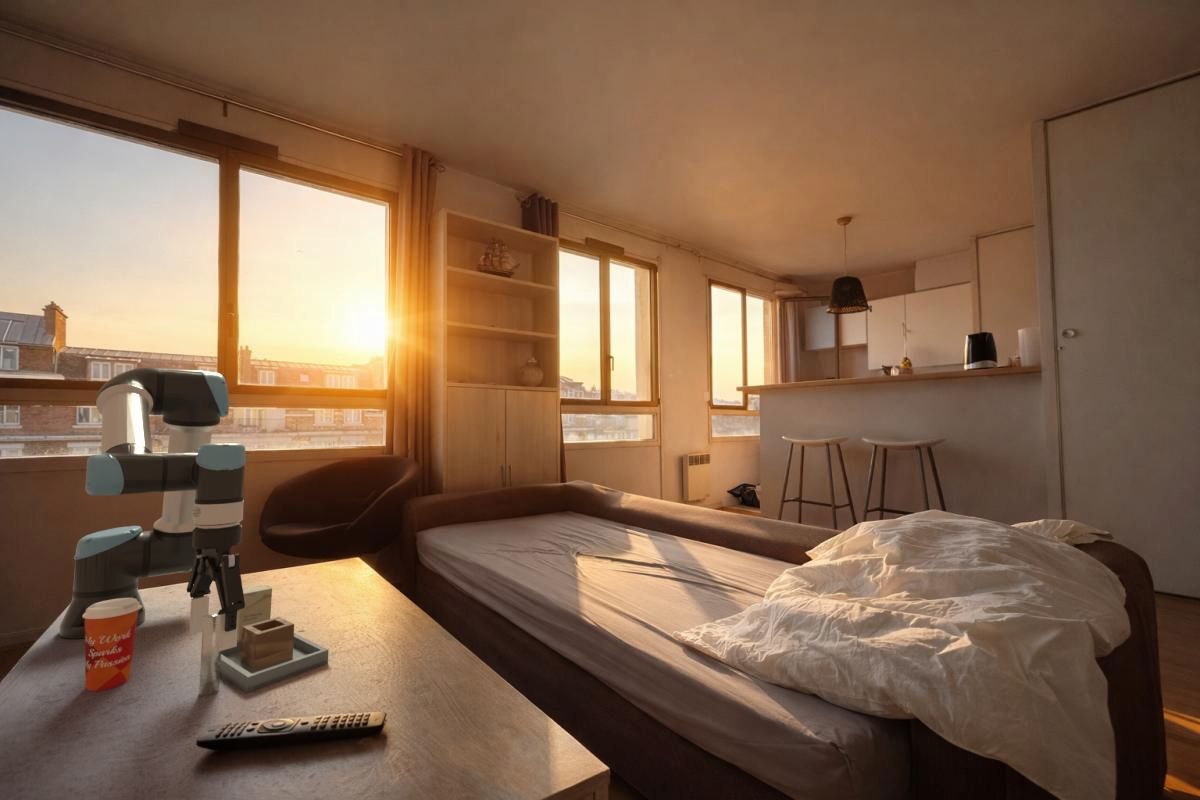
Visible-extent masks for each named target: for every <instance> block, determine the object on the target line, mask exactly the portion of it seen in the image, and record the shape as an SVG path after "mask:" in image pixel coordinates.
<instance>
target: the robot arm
mask: <svg viewBox="0 0 1200 800" xmlns="http://www.w3.org/2000/svg"><path fill="white" fill-rule="evenodd" d="M229 399H230V398H229V391H228V385H227V381H226V378H225V377H224V376H223V374H221V373H219V372H213V371H206V370H197V369H182V368H181V369H180V368H178V369H176V368H159V367H149V366H147V367H140V368H139V367H138V368H133V369H130V370H126V371H125V372H121V373H120V374H118V375H115V376H113V377H111V378H110V379H109V380H108V381H106V382H105V383H104V384H103V385H102V386H101V387H100V389H99V390H98V392H97V395H96V400H95V401H96V402H95V405H96V409H97V411H98V413H99V414H100V415H101V447H100V450H101V451H100V454H99V453H98V454H97V453H96V454H92V455H90V456H89V457H88V458H87V461H86V474H85V489H84V490H85V492H86V494H88V495H90V496H112V497H116V496H120V495H134V494H135V495H136V494H147V493H149V494H150V493H163V500H162V501H163V503H162V511H161V517H160V518H159V519H157V520H156V521H155V522H154V523H153V525H152V526H153V527H152V530H145V531H143V528H142V527H141V525H130V526H121V527H113V528H108V529H105V530H100V531H97V532H93V533H90V534H87V535H85V536H83V537H82V538H80V539H79V540H78V542H77V544H76V549H75V555H74V556H73V560H74V561H75V562H74V573H73V584H72V586H73V587H72V599H71V601H70V603H69V605H68V608H67V610H66V612H65V614H64V615H63V616H64V617H63V618H62V620H61V622H60V626H59V633H58V634H59V636H60V637H61V638H64V639H85V618H83V617H82V616H83V614H84V613H85V612H86V609H87V608H88V607H90V606H91V605H92V604H95V603H98V602H102V601H106V600H111V599H118V598H135V599H137V601H138V602H140V603H139V604H140V605H141V606H142V608H140V609H139V610H138V617H137V625H136V627H137V626H138V625H140V624H142V623H144V622H145V621H146V608H145V605H144V604H143V600H142V597H141V595H140V593H139V589H138V588H139V579H140V580H141V579H145V578H152V577H158V576H159V577H160V576H167V575H174V574H179V573H189V572H190V575H189V578H188V583H187V588H186V592H187V594H188V593H189V597H190V598H191V600H190V612H189V613H190V615H189V630H188V631H189V632H188V633H189V634H190V635H194V634H197V633H200V632H203V616H205V615H207V614H209V611H210V610H209V608H210V607H209V605H210V594H212V591H211V585H212V583H213V582H215V588H216V591H217V595H218V599H219V600H218V601H219V603H220V608H221V609H219V611H217V612H218V615H219V631H218V651H222V650H226V649H229V648H233V647H236V646H237V629H238V610H240V609H243V608H245V601H244V595H243V589H244V588H243V581H242V575H241V569H240V554H239V553H236V554H235V553H234V554H232V551H231V550H232V549H231V548H232V547H234V546H237V545H239V544H240V543H242V536H243V525H242V524H241V522H242V521H243V520H244V502H245V501H244V491H245V490H244V489H245V471H246V464H247V458H246V446H245V445H244V444H242V443H233V442H232V443H231V442H230V443H229V442H227V443H218V442H217V443H214V442H213V443H212V432H213V429H215V428H217V427H218V426H219V425H220V423H221V418H226V417H228V415H229V411H230V410H229V409H230V400H229ZM150 416H162V424H164V425H165V426H166V427H167V428H169V432H168V433H169V435H168V444H167V445H168V447H167V452H163V453H161V452H159V453H158V452H153V441H152V433H151V425H150V424H151V421H150Z"/></svg>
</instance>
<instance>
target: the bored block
mask: <svg viewBox="0 0 1200 800" xmlns="http://www.w3.org/2000/svg"><path fill="white" fill-rule="evenodd" d="M294 633H295V623H292V622H291V621H288V620H287V619H285V618H283V617H280V616H276V617H274V618H270V619H269V620H265V621H262V622H258V623H254V624H250V625H247V626H243V628H242V647H241V662H243V663H245V664H246V665H248V666H249V667H251V668H253V669H254V670H258V669H261V668H264V667H267V666H270V665H273V664H276V663H279V662H282V661H285V660H288V659H291V658H293V641H294Z"/></svg>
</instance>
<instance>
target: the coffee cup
mask: <svg viewBox="0 0 1200 800" xmlns="http://www.w3.org/2000/svg"><path fill="white" fill-rule="evenodd" d="M139 603H140V602H138V601H137V599H135V598H118V599H111V600H106V601H102V602H98V603H95V604H92V605H91V606H90V607H88V608H87V609H86V612H85V613H84V614H83V616H82V617H83V618H85V638H84V655H85V657H84V658H85V659H84V660H85V661H84V664H85V666H84V667H85V669H84V670H85V688H86V691H89V692H99V691H101V692H102V691H105V690H110V689H114V688H116V687H119V686H121V685H124V684H125V683H126V682H128V681H129V678H130V674H131V673H130V672H131V668H132V660H133V653H134V648H135V647H134V646H135V639H136V632H137V626H138V625H137V617H138V610H139V609H140V608H142V606H141V605H140V604H139ZM136 625H137V626H136Z"/></svg>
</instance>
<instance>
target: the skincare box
mask: <svg viewBox="0 0 1200 800" xmlns="http://www.w3.org/2000/svg"><path fill="white" fill-rule="evenodd" d="M272 593H273V588H272V587H271V586H269V585H267V584H262V585H258V586H253V587H248V588H243V595H244V601H245V608H243V609H240V610H238V629H237V641H239V640H242V628H243V626H247V625H250V624H254V623H258V622H262V621H265V620H269V619H271V615H272V614H271V613H272V612H271V611H272V597H273V594H272Z"/></svg>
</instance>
